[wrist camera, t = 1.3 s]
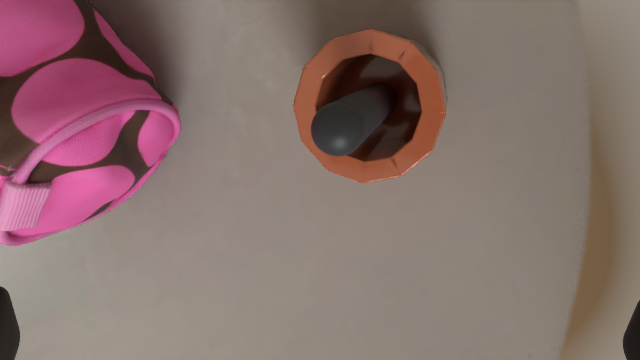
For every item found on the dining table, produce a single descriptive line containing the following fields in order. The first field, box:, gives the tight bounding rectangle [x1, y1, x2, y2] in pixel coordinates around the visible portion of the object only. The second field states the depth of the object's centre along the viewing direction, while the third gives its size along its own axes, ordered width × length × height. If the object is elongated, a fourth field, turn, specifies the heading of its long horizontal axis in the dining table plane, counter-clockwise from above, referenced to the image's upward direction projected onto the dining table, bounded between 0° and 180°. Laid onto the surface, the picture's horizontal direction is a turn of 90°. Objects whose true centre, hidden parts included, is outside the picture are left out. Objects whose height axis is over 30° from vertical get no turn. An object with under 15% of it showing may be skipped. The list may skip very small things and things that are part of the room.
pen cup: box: [293, 29, 447, 183], centre depth 22 cm, size 5×5×5 cm
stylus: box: [311, 82, 398, 156], centre depth 19 cm, size 1×1×10 cm
